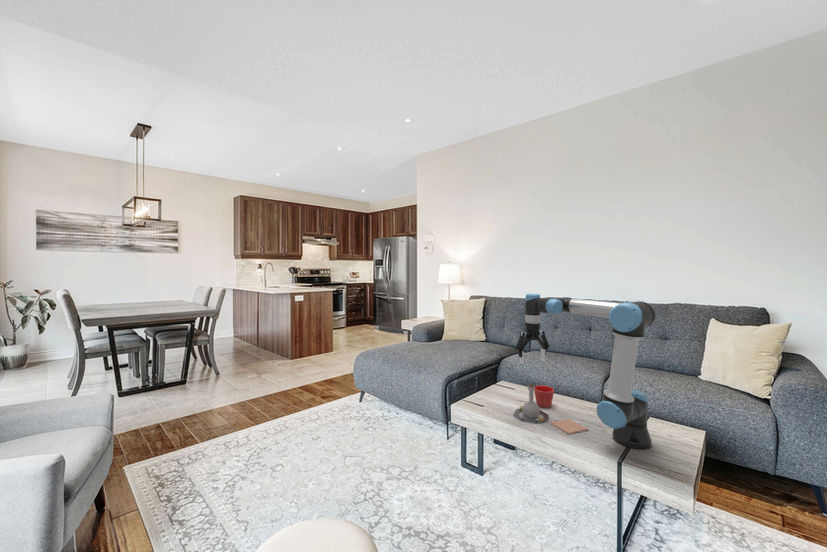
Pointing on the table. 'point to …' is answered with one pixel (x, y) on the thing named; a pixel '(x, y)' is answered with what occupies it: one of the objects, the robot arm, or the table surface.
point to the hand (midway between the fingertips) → (532, 362)
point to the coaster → (569, 426)
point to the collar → (540, 419)
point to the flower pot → (544, 396)
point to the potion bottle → (531, 405)
